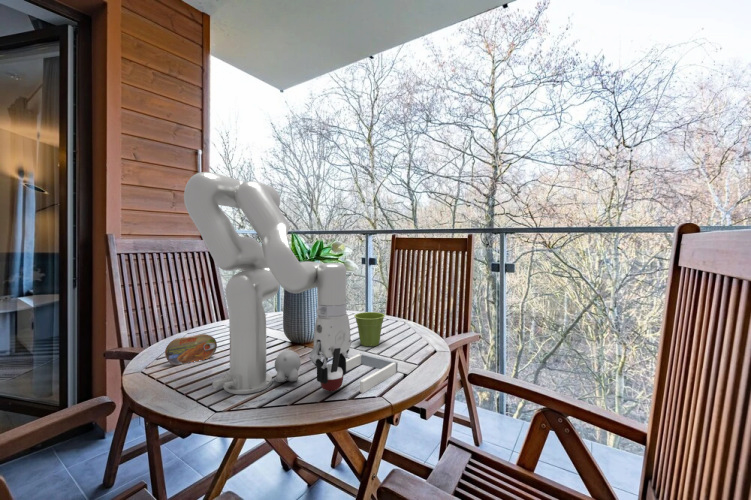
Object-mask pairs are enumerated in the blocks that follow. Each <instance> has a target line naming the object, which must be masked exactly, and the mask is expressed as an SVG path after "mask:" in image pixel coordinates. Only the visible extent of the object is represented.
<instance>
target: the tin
mask: <svg viewBox="0 0 751 500" xmlns="http://www.w3.org/2000/svg"><path fill="white" fill-rule="evenodd" d="M217 348H218V343H217V340H216V339H215V338H214V336H212V335H210V334H205V333H201V334H195V335H190V336H185V337H179V338H175V339H173V340H172V341H170V342H169V343H168V345H167V346H166V347H165V351H164V355H165V358H166V360H167V361H168V363H169V364H172V365H174V366H178V365H177V364H181V363H187V362H193V363H195V362H194V361H197V362H200V361H199V360H202V361H206V360H208V359H210V358H211V357H213V356H214V354H215V353H216V351H217ZM205 359H206V360H205Z"/></svg>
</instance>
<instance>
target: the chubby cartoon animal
mask: <svg viewBox="0 0 751 500" xmlns="http://www.w3.org/2000/svg"><path fill="white" fill-rule="evenodd" d="M301 361H302V360H301V358H300V356H299V354H298V353H297V352H296V351H294V350H283V351H282V352H280V353H279V354H278V355H277V356H276V358H275V360H274V370H275V371H276V375H275V379H274V380H275V382H277V383H285V382H286V381H288V382H297V381H298V379H299V370H300V368H301V364H302V362H301Z"/></svg>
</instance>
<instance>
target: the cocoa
mask: <svg viewBox="0 0 751 500" xmlns="http://www.w3.org/2000/svg"><path fill="white" fill-rule="evenodd" d="M340 350H341V348H335V349H334V355H333V357H332V361H331V363H327V364H326V368H328V382H327V383H326V384H324V383H321V382H319V383H320V386H321V388H322V389H323V390H325V391H326V392H335V391H337V390H340V388H341V386H342V385H343V382H344V374H343V370H342V368H341V367H338V363H339V356H340Z"/></svg>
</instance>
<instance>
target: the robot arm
mask: <svg viewBox="0 0 751 500" xmlns="http://www.w3.org/2000/svg"><path fill="white" fill-rule="evenodd" d="M183 202H184V206H185V208H186V212H187V213H188V215H189V218H190V219H191V220H192V222H193V223H194V226H195V227H196V229H197V230H198V232H199V234H200V235H201V238H202V240H203V242H204V244H205V246H206V247H207V249H208V251H209V254H210V255H211V257H212V259H213V262H214V263H215V264H216V266H217V267H218V268H219V269H220V270H223V271H238V270H240V272H238V273H236V274H234V275H232V276H231V277H230V278H229V279H228V281H227V283H226V285H225V298H226V299H225V300H226V304H227V309H228V319H229V321H228V322H229V323H228V326H229V370H228V371H226V372H225V375H224V376H223V378H219V379H216V380H213V382H212V385H211V386H212V387H213V389H218V388H219V389H220V387H223V389H224V391H225V392H227V393H229V394H233V395H248V394H254V393H257V392H261V391H263V390H266V389H268V387H270V386H271V385H272V384H273V377H272V376H271V375H270V374H269V373H267V316H266V311H265V308H264V304H263V302H265V301H267V300H271V299H272V298H274V297H275V296H276V295H277V294H278V292H279V289H280V287H282V288H283V290H284V291H287V292H288V293H291V294H301V293H303V292H305V291H308V290H312V289H317V291H316V292H317V294H316V295H317V300H316V302H317V305H316V315H317V316H316V318H315V323H314V332H313V333H314V334H313V348H312V350H311V351H310V353H309V354H308V358H309V359H310V361H311V363H313V365H314V366H315V367H316V381H317V382H318V383H320V382H321V383H324V384H326V383H327V382H328V368H326V365H327V364H328V360H329V359H331V358H333V355H334V349H335V348H341V350H340V356H339V363H338V367H341V368H342V370H343V375H346V374H347V371H346V360H347V359H348V353H349V352H350V349H351V345H352V344H353V340H352V339H351V326H350V318H349V315H348V313H347V268H346V265H345V264H343V263H340V262H324V263H322V262H315V261H309V260H307V261H299V260H298V258H297V256H296V255H295V254H294V252H293V250H292V249H291V246H290V244H289V242H288V241H289V240H288V233H289V230H290V223H289V222H288V220H287V218H286V217H285V215H284V213H282V211H281V210H280V205H281V197H280V193H278V191H277V189H275V188H274V187H273V186H271V185H269V184H265V183H262V182H259V181H254V180H248V181H245V180H242V179H241V180H240V179H236V178H234V177H229V176H226V175H223V174H220V173H216V172H210V171H203V172H202V171H201V172H198V173H197V172H196V173H195V174H194V175H191V177H190V178H189V179H188V181H187V182H186V185H185V188H184V193H183ZM220 206H222V207H228V208H229V207H231V208H235V209H238V210H241V212H242V213H243V214H244V216H245V218H246V219H247V221H248V222H249V223H250V226H251V227H252V228H253V230H254V232H255V233H256V234H257V236H258V237H259V240H260V242H261V243H260V242H258V240H256V239H254V238H252V237H249V236H241V235H240V234H239V233H238V232H237V231H236V229H235V228H234V226H233V224H232V222H231V219H230V218H229V217H228V216H227V214H226V213H225V212H224V211H223V210H222V209H221V208H220ZM321 383H320V384H321Z"/></svg>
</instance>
